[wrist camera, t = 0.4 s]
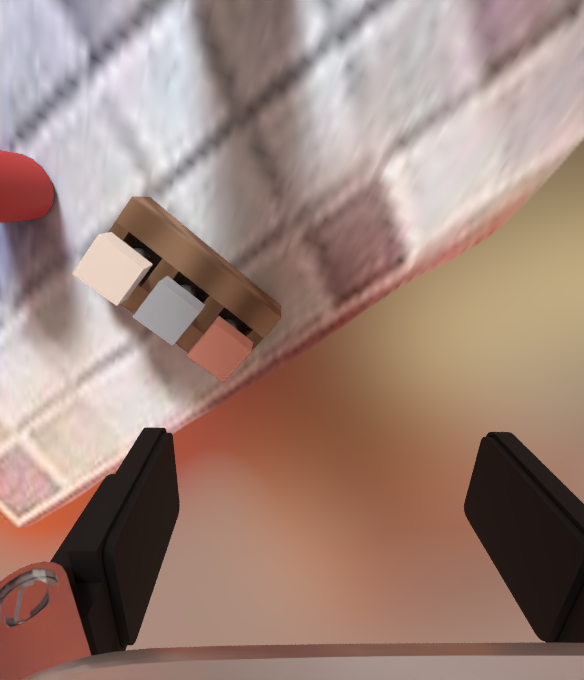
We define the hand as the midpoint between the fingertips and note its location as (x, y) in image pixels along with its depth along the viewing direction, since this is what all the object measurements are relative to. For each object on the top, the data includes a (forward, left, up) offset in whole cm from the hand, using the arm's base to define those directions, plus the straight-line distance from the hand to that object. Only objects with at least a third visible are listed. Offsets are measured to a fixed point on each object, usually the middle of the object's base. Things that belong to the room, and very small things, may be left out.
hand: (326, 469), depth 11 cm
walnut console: (-7, -9, -34) cm, 36 cm away
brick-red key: (-1, -9, -30) cm, 32 cm away
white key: (-13, -9, -30) cm, 34 cm away
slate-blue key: (-7, -9, -30) cm, 33 cm away
